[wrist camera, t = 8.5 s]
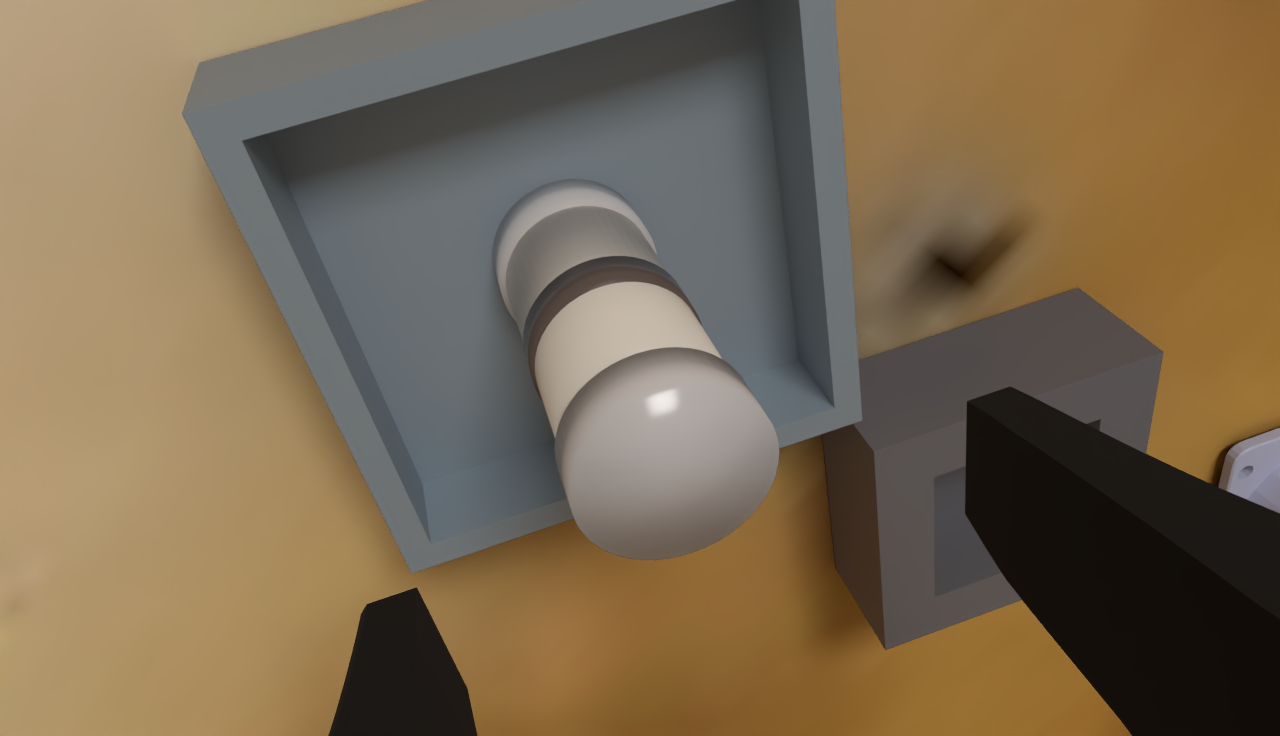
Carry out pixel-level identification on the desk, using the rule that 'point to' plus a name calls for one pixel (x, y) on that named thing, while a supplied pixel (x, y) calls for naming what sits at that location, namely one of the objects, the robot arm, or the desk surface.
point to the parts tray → (499, 177)
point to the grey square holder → (964, 451)
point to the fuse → (629, 378)
